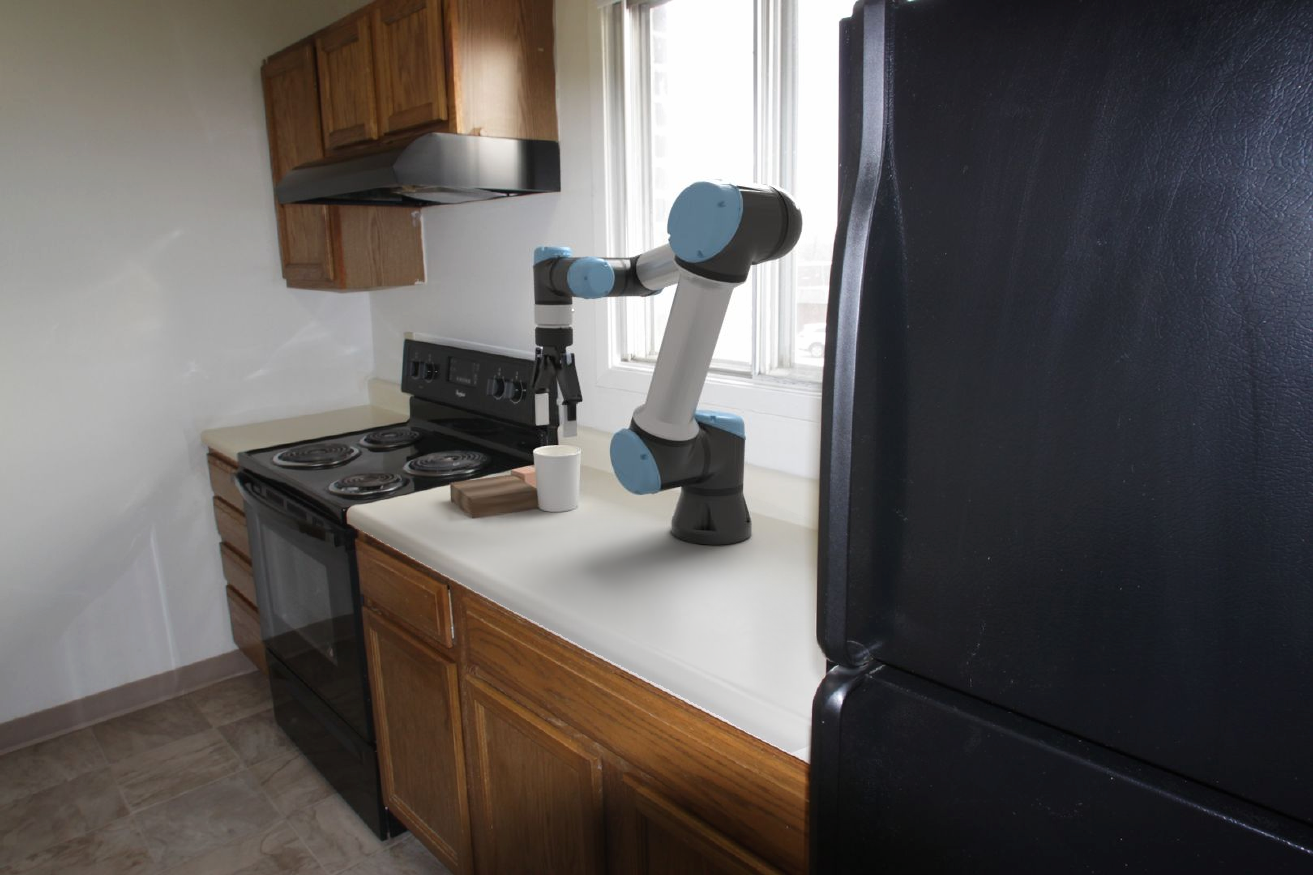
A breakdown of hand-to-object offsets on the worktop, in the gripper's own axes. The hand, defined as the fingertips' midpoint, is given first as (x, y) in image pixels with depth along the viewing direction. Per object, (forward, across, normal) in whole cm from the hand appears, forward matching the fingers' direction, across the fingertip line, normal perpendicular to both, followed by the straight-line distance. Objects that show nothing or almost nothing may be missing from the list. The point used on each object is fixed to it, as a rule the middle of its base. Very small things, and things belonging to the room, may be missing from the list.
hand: (555, 430), depth 168 cm
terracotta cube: (+16, +14, +1) cm, 21 cm away
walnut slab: (+16, +8, +11) cm, 21 cm away
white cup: (+16, 0, 0) cm, 16 cm away
